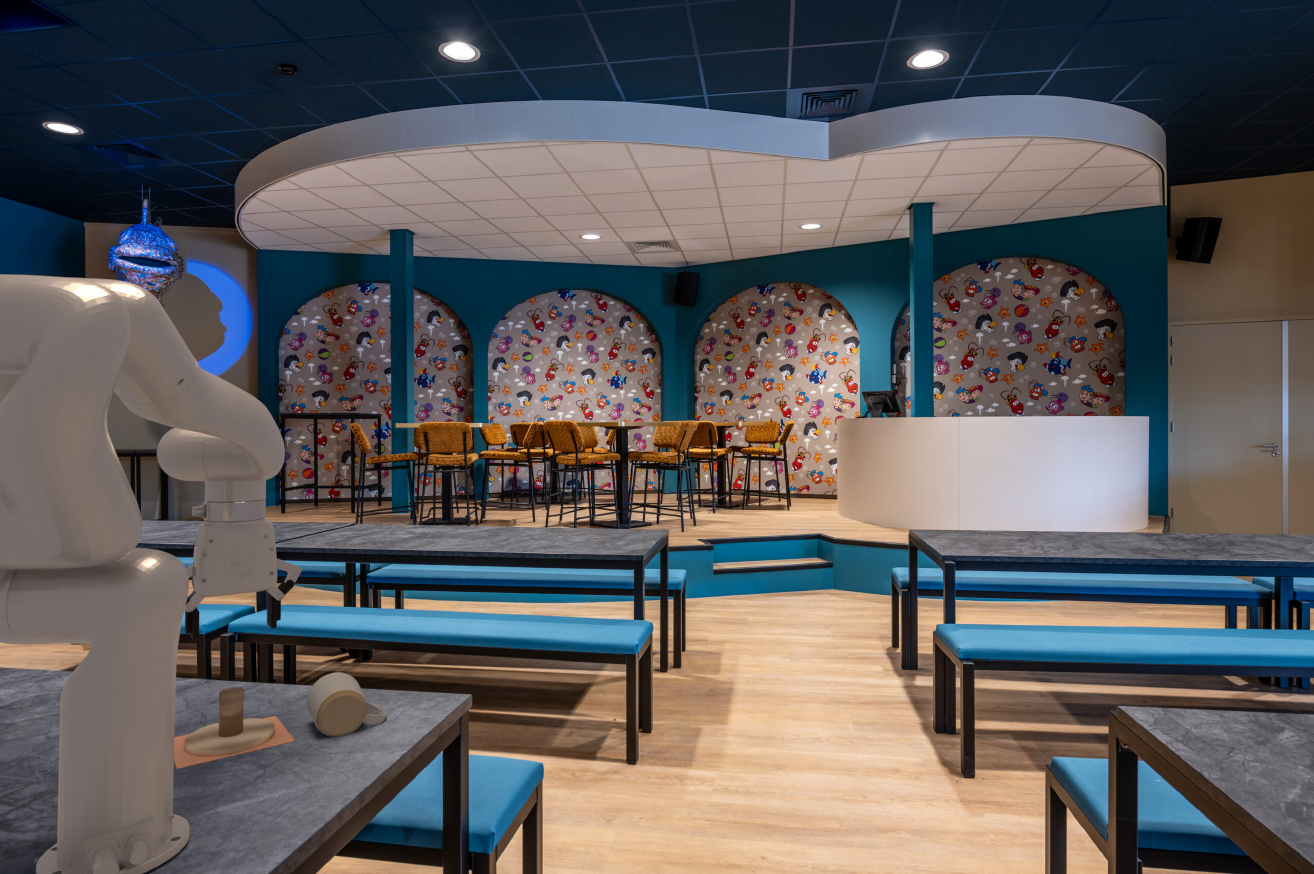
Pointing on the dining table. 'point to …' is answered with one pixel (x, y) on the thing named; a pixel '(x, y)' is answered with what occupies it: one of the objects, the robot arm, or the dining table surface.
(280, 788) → the dining table surface
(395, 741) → the dining table surface
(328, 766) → the dining table surface
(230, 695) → the lid
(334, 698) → the ceramic mug
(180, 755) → the mat
